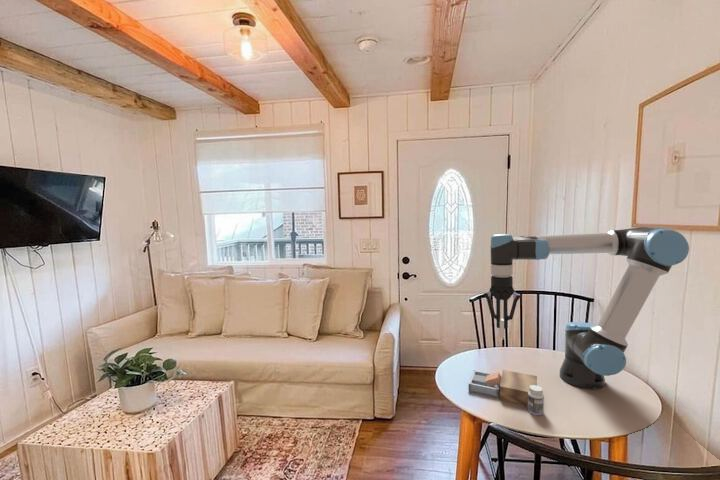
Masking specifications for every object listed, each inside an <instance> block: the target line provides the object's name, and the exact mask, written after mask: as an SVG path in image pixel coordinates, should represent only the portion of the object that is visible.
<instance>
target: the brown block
mask: <svg viewBox="0 0 720 480" xmlns="http://www.w3.org/2000/svg"><path fill="white" fill-rule="evenodd" d="M531 385H536V386H538V376H537V375H534V374H527V373H523V372H517V371H511V370H507V369H506V370H505V369H503V370H502V373H501V382H500V392H499V400H501V401H504V402H505V401H506V402H510V403H514V404H519V405H523V406H528V392H529V387H530V386H531Z"/></svg>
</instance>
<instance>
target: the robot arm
mask: <svg viewBox="0 0 720 480" xmlns="http://www.w3.org/2000/svg"><path fill="white" fill-rule="evenodd" d="M689 252H690V245H689V242H688V240H687V239H686V237H685V236H684V235H683V234H681V232H679V231H676V230H673V229H670V228H665V227H647V226H645V227H644V226H640V227H638V226H637V227H632V228H625V229H612V230H608V231H607V232H604V233H603V232H602V233H601V232H600V233H582V234H581V233H580V234H578V233H577V234H558V235H557V234H556V235H554V234H553V235H552V234H551V235H535V236H532V235H531V236H525V235H518V236H516V237H514V238H513V235H512V234H509V233H506V234H505V233H502V234H501V233H498V234H492V235H491V237H490V274H491V276H490V288H489V290H487V291H485V292H484V294H483V297H484V298H485V299H486V301H487V306H488V309H489V313H490V317H491V318H492V319H495V321H496V328H497V329H499V338H501V339H503V338H505V334H506V333H505V330H508V327H509V323H508V321H510V320H511V321H512V320H513V319H514V315H515V312H516V311H515V310H516V308H517V303H518V301H519V300H520V299H521V294H520V293H517V292H516V291H515V289H514V286H513V285H514V281H513V278H514V277H513V276H512V275H513V270H514V269H513V268H514V267H513V265H514V264H513V263H514V262H513V260H525V261H526V260H527V261H528V260H537V261H539V260H547V259H548V258H549V256H550V255H571V254H572V255H574V254H575V255H576V254H577V255H578V254H579V255H580V254H582V255H583V254H609V255H610V256H624V257H626V261H627V264H628V267H627V269H626V271H625V272H624V274H623V276H622V277H621V279H620V281H619V284H618V285H617V287H616V289H615V291H614V293H613V295H612V297H611V298H610V300H609V302H608V304H607V306H606V308H605V310H604V311H603V313H602V315H601V317H600V319H599V321H598V323H597V324H595V323H590V322H583V321H581V322H580V321H570V322H567V323H566V325H565V330H564V331H565V334H564V335H565V337H564V338H565V339H564V340H565V342H564V344H565V346H564V359H563V361H562V363H561V366H560V368H559V377H560V379H561V380H563V381H564V382H565V383H568V384H570V385H572V386H575V387H578V388H582V389H587V390H588V389H589V390H599V389H602V388H604V387H605V385H606V379H605V376H607V377H608V376H609V377H610V376H614V375H617V374H619V373H621V372H622V371H623V370H624V369H625V367H626V365H627V358H626V355H625V351H626V350H627V348H628V345H629V344H628V342H627V340H626V337H627V335H628V333H629V332H630V330H631V329H632V327H633V324H634V323H635V321H636V319H637V318H638V316H639V314H640V313H641V310H642V308H643V307H644V304H645V303H646V301H647V299H648V297H649V296H650V294H651V292H652V290H653V288H654V286H655V285H656V283H657V281H658V280H659V278H660V277H661V276H664V275H667V274H669V272H670V270H671V268H672V267H673V266H676V265H678V264H681V263H682V262H684V261H685V260H686V258H687V257H688V255H689ZM491 295H492V296H493V298H494V299H495V306H496V307H494V306H493V302H492V301H493V300H492V298H491V297H492V296H491ZM511 297H512V299H513V300H512V305H511V309H510V312H508V305H509V304H508V302H509V301H508V300H510V298H511ZM501 301H503V318H501ZM495 309H496V312H495ZM508 313H509V314H508Z"/></svg>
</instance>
